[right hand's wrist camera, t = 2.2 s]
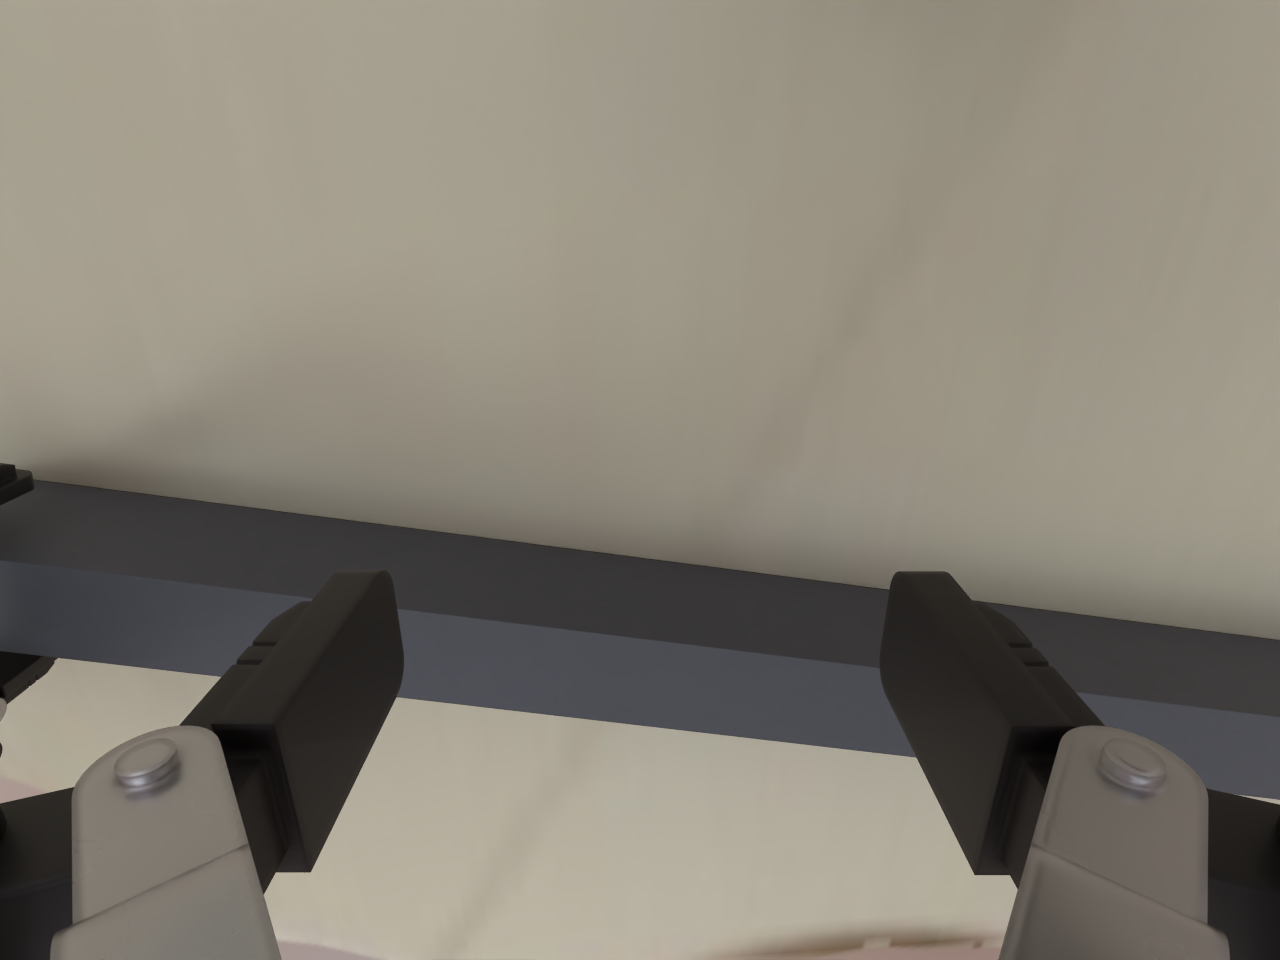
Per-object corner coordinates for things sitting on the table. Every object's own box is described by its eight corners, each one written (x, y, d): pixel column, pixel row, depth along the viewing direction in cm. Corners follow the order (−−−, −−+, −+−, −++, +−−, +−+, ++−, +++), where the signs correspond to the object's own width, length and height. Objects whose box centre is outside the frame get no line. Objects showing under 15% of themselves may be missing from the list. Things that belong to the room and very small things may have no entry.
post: (1392, 654, 38) (1550, 750, 31) (1349, 720, 40) (1491, 824, 33) (-12, 473, 34) (-169, 539, 28) (6, 554, 36) (-138, 635, 29)
